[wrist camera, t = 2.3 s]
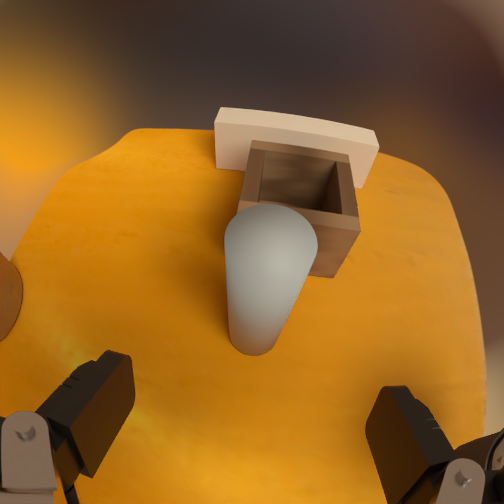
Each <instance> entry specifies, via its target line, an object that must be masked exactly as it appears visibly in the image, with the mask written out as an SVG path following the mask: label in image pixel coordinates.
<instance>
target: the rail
mask: <svg viewBox="0 0 504 504" xmlns="http://www.w3.org/2000/svg"><path fill="white" fill-rule="evenodd" d="M214 123H215V152H216V168H218V169H228V170H238V171H245V170H246V165H247V160H248V155H249V151H250V146H251V141H252V140H258V141H267V142H274V143H282V144H289V145H296V146H303V147H309V148H315V149H321V150H326V151H332V152H337V153H342V154H347V155H349V161H350V166H351V171H352V177H353V183H354V188H359V189H362V187H363V184H364V182H365V180H366V178H367V175H368V173H369V171H370V168H371V166H372V164H373V161H374V159H375V157H376V154H377V152H378V149H379V144H378V142H377V139H376V136H375V133H374V131H373V130H368V129H364V128H360V127H355V126H351V125H346V124H342V123H337V122H332V121H327V120H321V119H315V118H310V117H304V116H297V115H291V114H284V113H276V112H268V111H259V110H248V109H236V108H224V107H221V108H220V110H219V113H218V115H217V117H216V120H215V122H214Z"/></svg>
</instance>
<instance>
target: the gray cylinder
mask: <svg viewBox="0 0 504 504" xmlns="http://www.w3.org/2000/svg"><path fill="white" fill-rule="evenodd" d="M224 247H225V268H226V287H227V305H228V321H229V336H230V340H231V342H232V344H233V346H234V347H235V348H236V349H237V350H238V351H240V352H241V353H243V354H246V355H249V356H258V355H262V354H265V353H267V352H268V351H269V350H271V349H272V347H273V346H274V345H275V343H276V341H277V339H278V337H279V335H280V333H281V331H282V329H283V327H284V324H285V322H286V320H287V318H288V316H289V314H290V312H291V310H292V308H293V306H294V303H295V301H296V299H297V297H298V295H299V293H300V290H301V288H302V286H303V284H304V282H305V279H306V277H307V275H308V273H309V271H310V268H311V266H312V264H313V261H314V259H315V257H316V254H317V247H318V244H317V237H316V234H315V231H314V229H313V228H312V226H311V225H310V223H309V222H308V221H307V220H306V219H305V218H304V217H303V216H302V215H300V214H299V213H297V212H296V211H294V210H292V209H290V208H287V207H284V206H281V205H276V204H259V205H254V206H251V207H248V208H246V209H244V210H242V211H241V212H239V213H238V214H236V215H235V216H234V217H233V218H232V219H231V221H230V222H229V224H228V226H227V228H226V231H225V236H224Z"/></svg>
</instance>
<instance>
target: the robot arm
mask: <svg viewBox="0 0 504 504" xmlns="http://www.w3.org/2000/svg"><path fill="white" fill-rule="evenodd" d="M21 301H22V281H21V277H20V274H19V272H18V271H17V269H16V268H15V267H14V266H13V265H12V264H11V263H10V262H9V261H8V260H7V259H6V258H5V257H4V256H3V255H2V253H0V341H1V340H2V339H3V338H4V337H5V336H6V335H7V334H8V332H9V331H10V330H11V328H12V326H13V325H14V323H15V321H16V318H17V316H18V314H19V310H20V306H21ZM134 401H135V386H134V377H133V368H132V360H131V357H130V356H129V355H125V354H121V353H118V352H114V351H111V350H107V351H105V352H104V353H103V354H102V355H101V357H100V358H99V359H98V360H97V361H96V362H95V361H92V360H91V361H89V362H87V363H85V364H82V365H80V366H78V367H77V368H76V369H75V370H74V371H73V372H72V374H71V375H70V377H69V378H67V379H66V380H65V381H64V382H63V384H62V385H60V386H59V387H58V388H57V389H56V390H55V391H54V392H53V393H52V394H51V395H50V396H49V398H48V399H47V400H46V401H45V402H44V403H43V404H42V405H41V406H40V407H39V408H38V409H37V410H36V411H35V412H30V411H19V412H16V413H13V414H11V415H10V416H8V417H7V418H4V417H1V416H0V504H83V503H82V500H81V497H80V493H79V490H78V486H77V483H76V481H75V480H76V479H77V477H78V475H79V474H80V473H81V474H83V475H85V476H88V477H90V478H93V476H94V475H95V473H96V471H97V469H98V467H99V466H100V464H101V462H102V460H103V459H104V457H105V455H106V453H107V451H108V450H109V448H110V446H111V444H112V443H113V441H114V439H115V437H116V436H117V434H118V432H119V431H120V429H121V427H122V425H123V424H124V422H125V420H126V418H127V417H128V415H129V413H130V412H131V410H132V408H133V405H134ZM439 427H440V426H439V425H438V423H437V421H436V420H434V417H433V415H432V413H431V412H430V410H429V409H428V407H426V406H425V405H424V404H423V403H421V402H420V401H419V400H418V399H414V397H413V395H412V394H411V392H410V391H409V389H408V388H407V387H406V386H385V387H383V388H382V389H381V391H380V393H379V395H378V397H377V400H376V402H375V404H374V406H373V409H372V411H371V413H370V415H369V417H368V419H367V422H366V428H365V433H366V438H367V441H368V444H369V447H370V450H371V453H372V456H373V459H374V462H375V465H376V468H377V471H378V474H379V477H380V481H381V484H382V487H383V490H384V493H385V497H386V500H387V503H388V504H504V465H503V467H502V468H501V469H500V470H484V471H483V469H482V468H481V466H480V465H479V464H478V463H476V462H475V461H473V460H470V459H465V458H461V459H459V458H458V456H457V455H456V453H455V451H454V450H453V448H452V446H451V445H450V443H449V441H448V439H447V438H446V436H445V435H444V433H443V431H442V430H441V429H439Z"/></svg>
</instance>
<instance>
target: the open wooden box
mask: <svg viewBox="0 0 504 504" xmlns="http://www.w3.org/2000/svg"><path fill="white" fill-rule="evenodd" d="M259 204H276V205H281V206H284V207H287V208H290V209H292V210H294V211H296V212H297V213H299V214H300V215H302V216H303V217H304V218H305V219H306V220H307V221H308V222H309V223H310V225H311V226H312V228H313V229H314V231H315V234H316V237H317V244H318V247H317V254H316V257H315V259H314V261H313V264H312V266H311V268H310V271H309V273H308V275H311V276H319V277H328V278H334V276H335V274H336V273H337V271H338V270H339V268H340V266H341V264H342V263H343V261H344V259H345V258H346V256H347V254H348V253H349V251H350V249H351V247H352V246H353V244H354V242H355V240H356V239H357V237H358V235H359V233H360V231H361V230H360V223H359V215H358V208H357V201H356V195H355V189H354V183H353V177H352V171H351V166H350V161H349V155H347V154H342V153H337V152H332V151H326V150H321V149H315V148H309V147H303V146H296V145H289V144H282V143H274V142H267V141H258V140H252V141H251V146H250V151H249V155H248V160H247V165H246V170H245V175H244V180H243V184H242V189H241V194H240V199H239V204H238V209H237V214H238V213H239V212H241V211H242V210H244V209H246V208H248V207H251V206H254V205H259Z"/></svg>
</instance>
